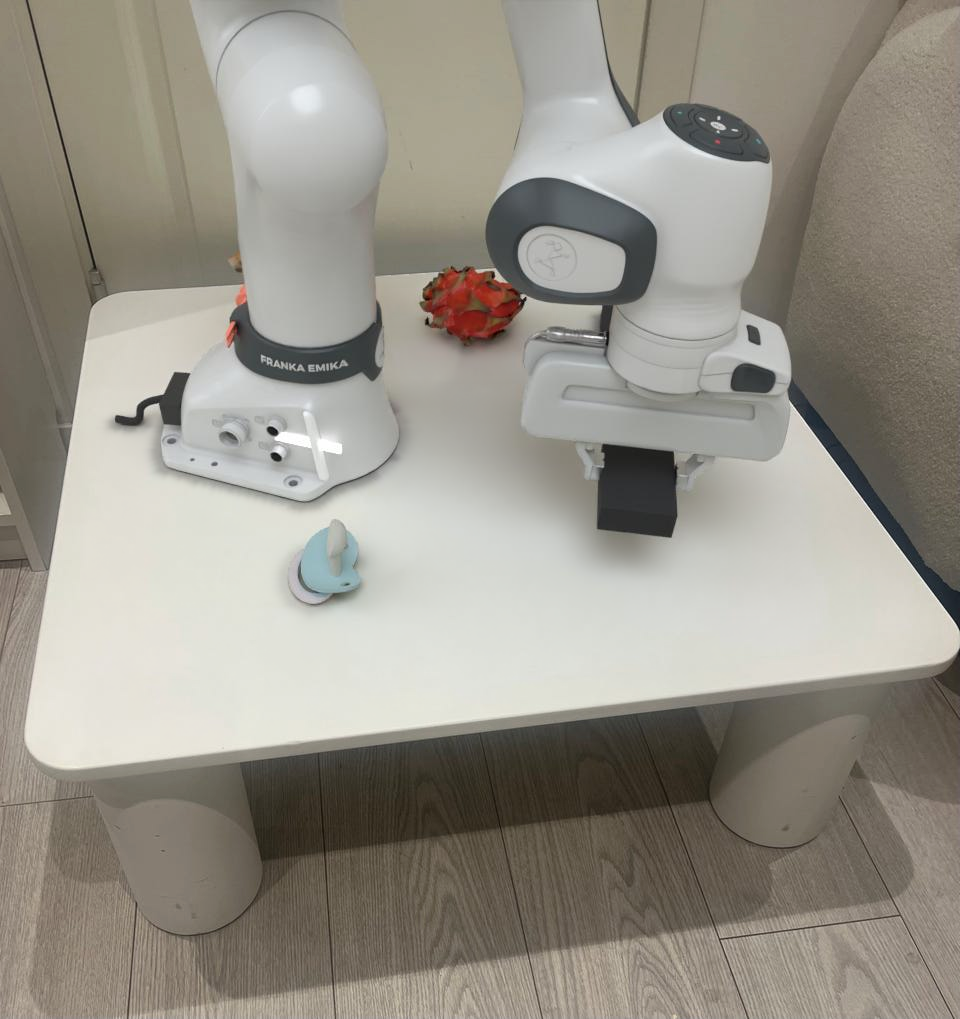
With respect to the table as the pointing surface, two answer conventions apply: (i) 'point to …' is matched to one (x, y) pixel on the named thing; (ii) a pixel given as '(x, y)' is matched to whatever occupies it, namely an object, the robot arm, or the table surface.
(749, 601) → the table surface
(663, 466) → the pad
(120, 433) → the table surface
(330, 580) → the pacifier
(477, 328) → the dragon fruit
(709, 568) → the table surface
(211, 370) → the robot arm
